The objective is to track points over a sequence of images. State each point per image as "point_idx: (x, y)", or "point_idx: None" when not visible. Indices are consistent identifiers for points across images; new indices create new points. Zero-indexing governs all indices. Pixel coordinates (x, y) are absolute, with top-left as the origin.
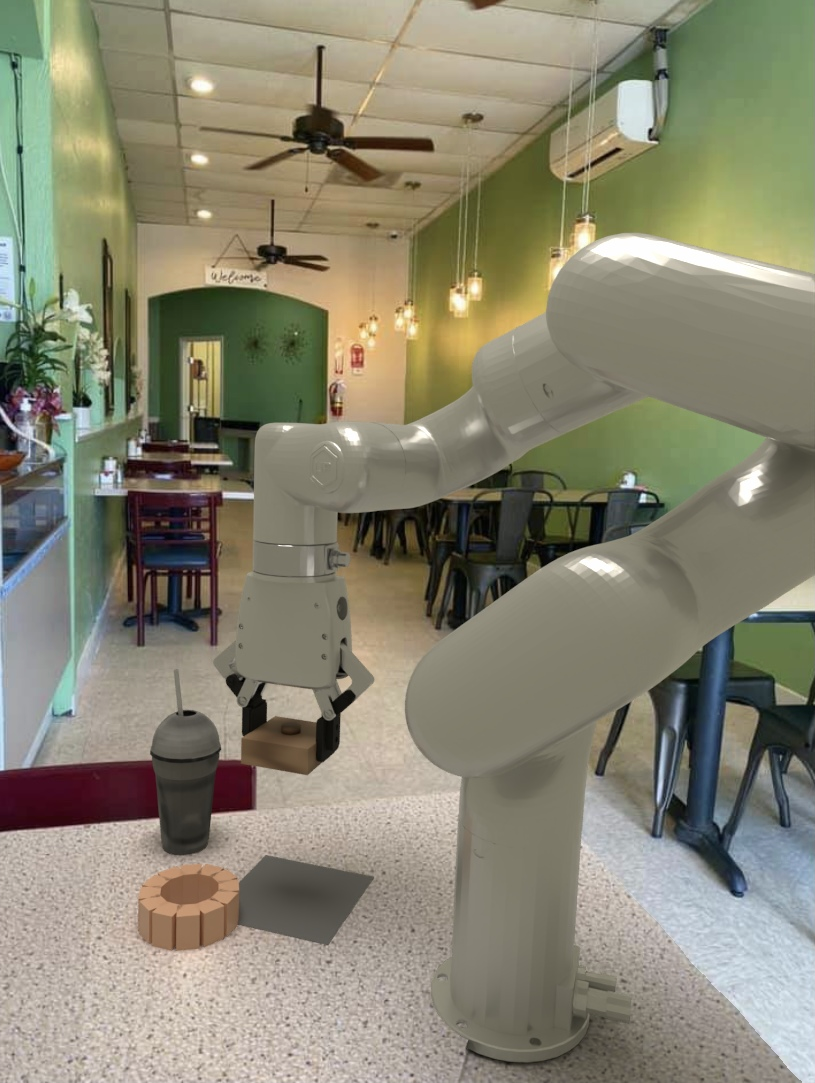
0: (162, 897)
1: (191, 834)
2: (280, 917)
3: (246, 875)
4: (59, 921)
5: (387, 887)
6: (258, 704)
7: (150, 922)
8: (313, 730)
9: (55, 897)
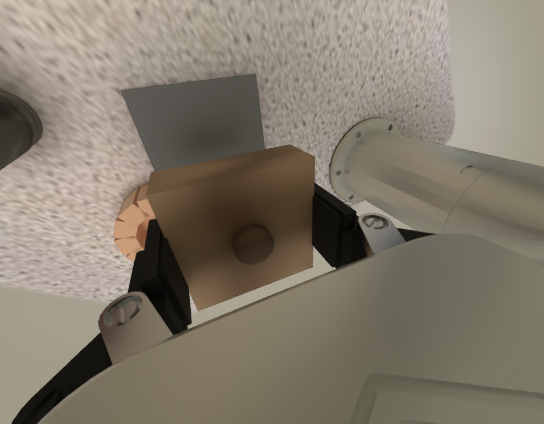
0: None
1: (26, 147)
2: None
3: (143, 142)
4: (64, 266)
5: (264, 69)
6: (174, 306)
7: None
8: (285, 209)
9: (10, 255)
